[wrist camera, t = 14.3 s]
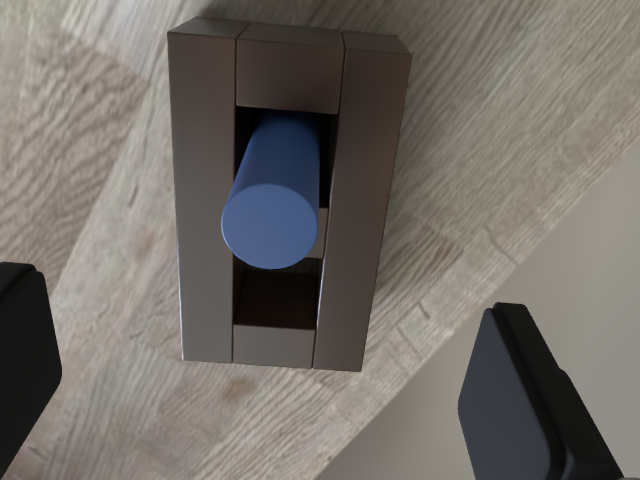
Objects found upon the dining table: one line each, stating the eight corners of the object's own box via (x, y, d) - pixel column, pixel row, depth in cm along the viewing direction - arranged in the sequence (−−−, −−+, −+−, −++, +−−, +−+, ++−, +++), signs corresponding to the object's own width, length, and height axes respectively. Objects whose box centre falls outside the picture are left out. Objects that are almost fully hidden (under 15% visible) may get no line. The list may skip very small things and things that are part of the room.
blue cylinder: (322, 96, 25) (322, 187, 16) (317, 156, 27) (314, 273, 17) (259, 91, 25) (220, 178, 16) (257, 151, 27) (220, 266, 17)
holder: (396, 34, 24) (412, 54, 20) (355, 313, 31) (361, 372, 27) (195, 16, 24) (166, 31, 19) (201, 302, 31) (182, 360, 27)
